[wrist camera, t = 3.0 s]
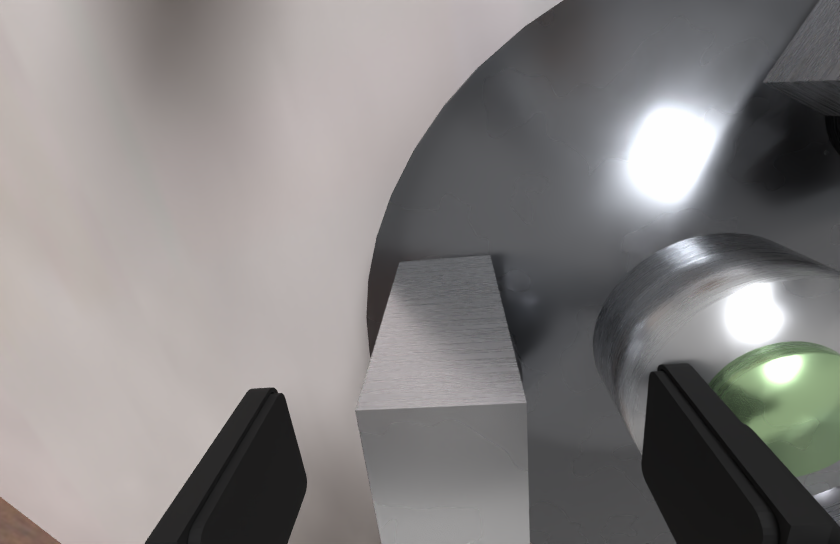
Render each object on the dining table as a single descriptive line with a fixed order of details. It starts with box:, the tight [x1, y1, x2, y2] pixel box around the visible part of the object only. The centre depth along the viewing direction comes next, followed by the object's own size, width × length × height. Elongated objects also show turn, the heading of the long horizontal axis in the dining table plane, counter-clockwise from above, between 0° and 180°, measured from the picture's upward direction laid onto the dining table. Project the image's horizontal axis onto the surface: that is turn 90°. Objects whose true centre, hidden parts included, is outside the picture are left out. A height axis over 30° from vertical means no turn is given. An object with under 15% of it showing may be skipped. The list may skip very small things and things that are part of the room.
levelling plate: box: [367, 0, 840, 544], centre depth 12 cm, size 19×19×6 cm
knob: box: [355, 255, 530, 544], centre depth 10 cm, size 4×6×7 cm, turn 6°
